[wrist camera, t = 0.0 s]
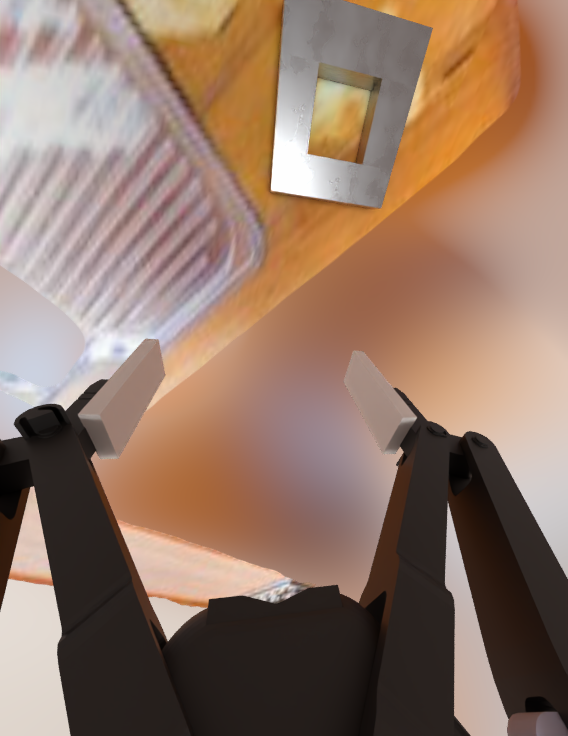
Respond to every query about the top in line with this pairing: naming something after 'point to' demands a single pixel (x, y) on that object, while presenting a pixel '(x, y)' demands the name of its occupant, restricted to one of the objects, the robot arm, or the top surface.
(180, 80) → the top surface
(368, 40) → the socket plate
